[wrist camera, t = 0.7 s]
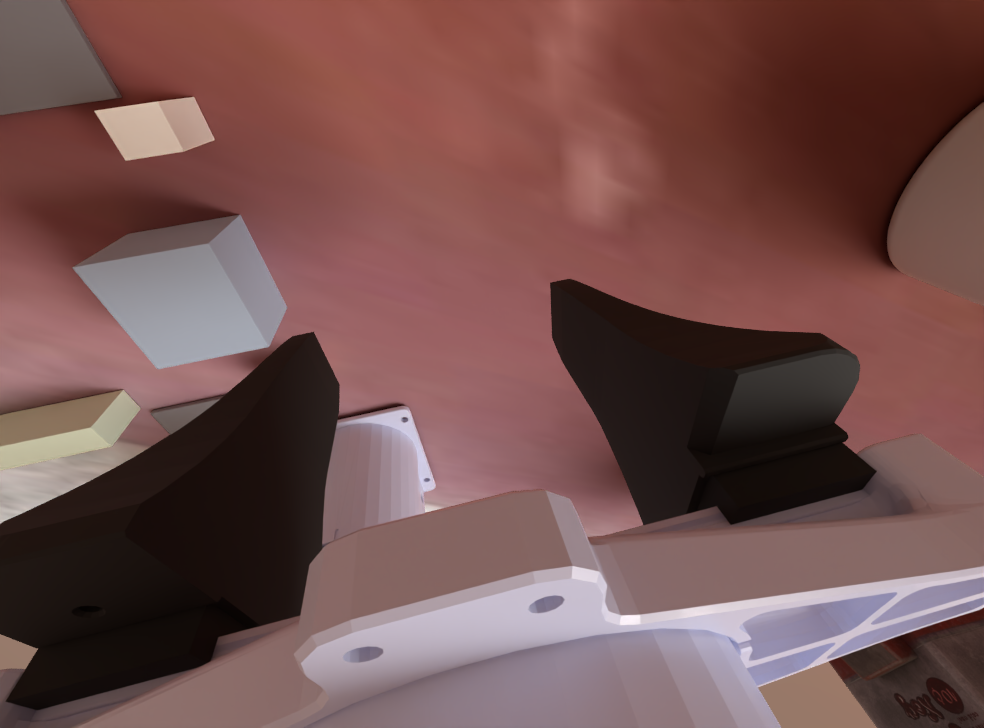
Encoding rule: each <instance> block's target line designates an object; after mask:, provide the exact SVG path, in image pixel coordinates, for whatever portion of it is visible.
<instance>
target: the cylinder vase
mask: <svg viewBox="0 0 984 728" xmlns="http://www.w3.org/2000/svg"><path fill="white" fill-rule="evenodd" d="M887 250H888V254H889V258H890V260H891V262H892V263H893V265H894V266H895V267H896V268H897V269H898V270H899V271H900V272H902V273H903V274H905V275H907V276H910V277H912V278H915V279H917V280H920V281H922V282H925V283H927V284H930V285H932V286H935V287H937V288H940V289H942V290H945V291H947V292H950V293H952V294H955V295H957V296H960V297H962V298H965V299H967V300H970V301H972V302H975V303H977V304H980V305H982V306H984V102H983V103H981V104H980V105H979V106H978V107H976V108H975V109H974V110H973V111H971V112H970V113H969V114H968V115H967V116H966V117H965V118H963V119H962V120H961V121H960V122H959V123H958V124H957V125H956V126H955V127H954V128H953V129H952V130H951V131H950V132H949V133H948V134H947V135H946V136H945V137H944V138H943V139H942V140H941V141H940V142H939V143H938V145H937V146H936V147H935V148H934V149H933V150H932V151H931V153H930V154H929V155H928V156H927V158H926V159H925V160H924V161H923V163H922V164H921V165H920V167H919V168H918V169H917V171H916V172H915V174H914V175H913V177H912V178H911V180H910V181H909V183H908V184H907V186H906V188H905V190H904V191H903V193H902V195H901V197H900V199H899V201H898V203H897V205H896V207H895V210H894V212H893V215H892V218H891V221H890V225H889V229H888V235H887Z"/></svg>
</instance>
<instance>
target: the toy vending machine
mask: <svg viewBox="0 0 984 728" xmlns="http://www.w3.org/2000/svg"><path fill="white" fill-rule="evenodd" d="M829 663H830V664H831V665H832V667H833V668H834V669H835V671H836V672H837V673H838V675H839V676H840V677H841V679H842V680H843V682H844V683H845V684H846V686H847V687H848V689H849V690H850V691H851V693H852V694H853V695H854V697H855V698H856V699H857V701H858V702H859V703H860V705H861V706H862V708H863V709H864V710H865V712H866V713H867V715H868V716H869V717H870V719H871V720H872V721H873V723H874V724H875V725H876V727H877V728H984V608H982V609H980V610H977V611H974V612H971V613H968V614H964V615H961V616H958V617H955V618H952V619H949V620H945V621H942V622H939V623H936V624H933V625H930V626H927V627H924V628H921V629H918V630H915V631H912V632H909V633H906V634H903V635H900V636H897V637H894V638H891V639H889V640H886V641H883V642H880V643H877V644H875V645H872V646H869V647H866V648H863V649H861V650H858V651H855V652H852V653H850V654H847V655H844V656H841V657H839V658H836V659H833V660H831V661H829Z"/></svg>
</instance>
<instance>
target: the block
mask: <svg viewBox="0 0 984 728" xmlns="http://www.w3.org/2000/svg"><path fill="white" fill-rule="evenodd" d="M72 268H73V269H74V270H75V272H76V273H77V274H78V275H79V276H80V278H81V279H82V280H83V281H84V282H85V284H86V285H87V286H88V287H89V288H90V289H91V291H92V292H93V293H94V294H95V295H96V297H97V298H98V299H99V300H100V301H101V303H102V304H103V305H104V306H105V307H106V309H107V310H108V311H109V312H110V313H111V314H112V316H113V317H114V318H115V319H116V320H117V322H118V323H119V324H120V325H121V326H122V328H123V329H124V330H125V331H126V332H127V334H128V335H129V336H130V337H131V338H132V339H133V341H134V342H135V343H136V344H137V345H138V347H139V348H140V349H141V350H142V351H143V353H144V354H145V355H146V356H147V357H148V359H149V360H150V361H151V362H152V363H153V364H154V366H155V367H156V368H157V369H162V368H167V367H172V366H177V365H181V364H186V363H191V362H196V361H201V360H206V359H211V358H216V357H221V356H226V355H231V354H236V353H241V352H246V351H251V350H256V349H261V348H266V347H269V346H270V344H271V342H272V339H273V337H274V335H275V333H276V331H277V329H278V327H279V324H280V322H281V320H282V318H283V316H284V314H285V312H286V309H287V306H286V304H285V302H284V300H283V298H282V296H281V294H280V292H279V290H278V288H277V286H276V284H275V282H274V280H273V278H272V276H271V274H270V272H269V270H268V268H267V266H266V265H265V263H264V261H263V259H262V257H261V255H260V253H259V251H258V249H257V247H256V245H255V243H254V241H253V239H252V237H251V235H250V233H249V231H248V229H247V227H246V225H245V223H244V221H243V219H242V217H241V215H235V216H229V217H223V218H217V219H211V220H206V221H200V222H194V223H188V224H182V225H177V226H171V227H165V228H159V229H154V230H148V231H142V232H136V233H130V234H127V235H125V236H124V237H122V238H120V239H119V240H117V241H115V242H114V243H112V244H110V245H109V246H107V247H105V248H104V249H102V250H100V251H99V252H97V253H95V254H94V255H92V256H90V257H89V258H87V259H85V260H84V261H82V262H80V263H79V264H77V265H75V266H74V267H72Z"/></svg>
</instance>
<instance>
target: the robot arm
mask: <svg viewBox="0 0 984 728" xmlns="http://www.w3.org/2000/svg"><path fill="white" fill-rule="evenodd" d="M550 288H551V316H552V338H553V341H554V343H555V346H556V348H557V350H558V353H559V355H560V357H561V360H562V362H563V364H564V365H565V367H566V369H567V370H568V372H569V373H570V375H571V377H572V378H573V380H574V382H575V383H576V385H577V386H578V388H579V390H580V391H581V393H582V394H583V396H584V398H585V399H586V401H587V402H588V404H589V406H590V407H591V409H592V411H593V412H594V414H595V416H596V418H597V419H598V421H599V423H600V425H601V427H602V429H603V431H604V433H605V436H606V438H607V440H608V442H609V444H610V446H611V448H612V451H613V453H614V455H615V457H616V460H617V462H618V464H619V466H620V469H621V471H622V473H623V475H624V478H625V480H626V483H627V485H628V487H629V490H630V492H631V495H632V497H633V500H634V502H635V504H636V507H637V509H638V512H639V514H640V517H641V520H642V522H643V526H639V527H635V528H632V529H628V530H624V531H620V532H616V533H613V534H609V535H605V536H594V537H587V535H586V533H585V530H584V528H583V525H582V523H581V521H580V518H579V516H578V513H577V512H576V510H575V508H574V506H573V504H572V502H571V500H570V499H569V498H566V497H563V496H561V495H558V494H555V493H552V492H549V491H546V490H542V489H535V490H523V491H512V492H507V493H503V494H499V495H495V496H491V497H487V498H483V499H479V500H475V501H471V502H467V503H463V504H459V505H455V506H451V507H447V508H443V509H439V510H435V511H431V512H427V513H425V503H424V492H427V491H431V490H433V489H434V488H435V481H434V478H433V475H432V472H431V469H430V466H429V463H428V461H427V458H426V455H425V452H424V449H423V446H422V443H421V441H420V438H419V435H418V432H417V429H416V426H415V423H414V420H413V418H412V415H411V412H410V409H409V408H408V407H406V406H399V407H395V408H390V409H386V410H381V411H376V412H372V413H367V414H363V415H358V416H354V417H349V418H344V419H340V420H338V414H339V383H338V381H337V379H336V377H335V375H334V372H333V370H332V368H331V366H330V364H329V362H328V360H327V358H326V356H325V354H324V352H323V350H322V348H321V346H320V344H319V342H318V340H317V338H316V336H315V334H314V332H311V333H306V334H302V335H297V336H292V337H291V338H290V339H288V340H287V341H286V342H284V343H283V344H282V345H281V346H280V347H279V348H277V349H276V350H275V351H274V352H273V353H272V354H271V355H270V356H269V357H268V358H266V359H265V360H264V361H263V362H262V363H261V364H260V365H259V366H258V367H257V368H256V369H254V370H253V371H252V372H251V373H250V374H249V375H248V376H247V377H246V378H245V379H243V380H242V381H241V382H240V383H239V384H237V385H236V386H235V387H234V388H233V389H232V390H230V391H229V392H228V393H227V394H226V395H224V396H223V397H222V398H221V399H220V400H219V401H217V402H216V403H215V404H213V405H212V406H211V407H210V408H208V409H207V410H206V411H204V412H203V413H202V414H200V415H199V416H197V417H196V418H195V419H193V420H192V421H190V422H189V423H187V424H186V425H185V426H183V427H182V428H180V429H179V430H177V431H176V432H174V433H173V434H171V435H169V436H168V437H166V438H164V439H163V440H161V441H160V442H158V443H156V444H155V445H153V446H152V447H150V448H148V449H147V450H145V451H144V452H142V453H140V454H139V455H137V456H135V457H134V458H132V459H130V460H128V461H126V462H125V463H123V464H121V465H119V466H117V467H116V468H114V469H112V470H110V471H108V472H106V473H104V474H102V475H101V476H99V477H97V478H95V479H93V480H91V481H89V482H87V483H85V484H83V485H81V486H79V487H77V488H75V489H73V490H71V491H69V492H67V493H65V494H63V495H61V496H58V497H56V498H54V499H52V500H50V501H48V502H46V503H44V504H41V505H39V506H37V507H35V508H33V509H31V510H29V511H26V512H24V513H22V514H20V515H18V516H16V517H13V518H11V519H9V520H7V521H4V522H3V523H1V524H0V634H1V635H4V636H6V637H9V638H12V639H14V640H17V641H19V642H22V643H24V644H27V645H30V646H32V647H35V648H38V650H37V652H36V653H35V655H34V656H33V658H32V660H31V661H30V663H29V665H28V666H27V668H26V669H4V670H0V728H781V726H780V724H779V723H778V721H777V719H776V718H775V716H774V714H773V713H772V711H771V709H770V708H769V706H768V704H767V702H766V701H765V699H764V697H763V696H762V694H761V692H760V691H759V689H758V687H760V686H762V685H765V684H768V683H771V682H773V681H776V680H779V679H781V678H784V677H787V676H789V675H792V674H795V673H798V672H801V671H803V670H806V669H808V668H811V667H814V666H817V665H819V664H822V663H825V662H828V661H831V660H833V659H836V658H839V657H841V656H844V655H847V654H850V653H852V652H855V651H858V650H861V649H863V648H866V647H869V646H872V645H875V644H877V643H880V642H883V641H886V640H889V639H891V638H894V637H897V636H900V635H903V634H906V633H909V632H912V631H915V630H918V629H921V628H924V627H927V626H930V625H933V624H936V623H939V622H942V621H945V620H949V619H952V618H955V617H958V616H961V615H964V614H968V613H971V612H974V611H977V610H980V609H982V608H984V477H983V476H982V475H980V474H979V473H978V472H976V471H975V470H973V469H972V468H970V467H969V466H967V465H966V464H964V463H963V462H962V461H960V460H959V459H957V458H956V457H954V456H953V455H951V454H950V453H948V452H947V451H946V450H944V449H943V448H941V447H940V446H938V445H937V444H935V443H934V442H932V441H931V440H930V439H928V438H927V437H925V436H924V435H922V434H911V435H907V436H903V437H899V438H896V439H892V440H888V441H884V442H880V443H876V444H873V445H870V446H868V447H866V448H864V449H863V450H861V451H859V452H858V453H857V454H855V453H854V452H853V451H852V450H851V449H849V448H848V447H847V446H846V445H845V444H843V443H842V442H845V441H846V440H847V439H848V435H847V433H846V432H845V431H844V430H843V429H841V428H840V427H839V426H838V425H836V424H835V423H834V422H835V421H836V419H837V417H838V416H839V414H840V412H841V411H842V409H843V407H844V406H845V404H846V402H847V401H848V399H849V397H850V396H851V394H852V393H853V391H854V388H855V386H856V384H857V382H858V380H859V372H860V364H859V361H858V359H857V356H855V355H854V354H853V353H851V352H850V351H848V350H847V349H845V348H844V347H842V346H840V345H839V344H837V343H836V342H834V341H833V340H831V339H829V338H828V337H826V336H825V335H823V334H821V333H804V332H779V331H761V330H751V329H741V328H732V327H725V326H718V325H712V324H706V323H701V322H695V321H690V320H685V319H681V318H677V317H673V316H669V315H665V314H661V313H658V312H655V311H651V310H648V309H645V308H642V307H639V306H637V305H634V304H631V303H628V302H626V301H623V300H620V299H618V298H615V297H613V296H611V295H608V294H606V293H604V292H601V291H599V290H597V289H594V288H592V287H590V286H587V285H585V284H583V283H580V282H578V281H575V280H572V279H566V280H561V281H556V282H552V283H550ZM403 417H407V418H406V419H403Z"/></svg>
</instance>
